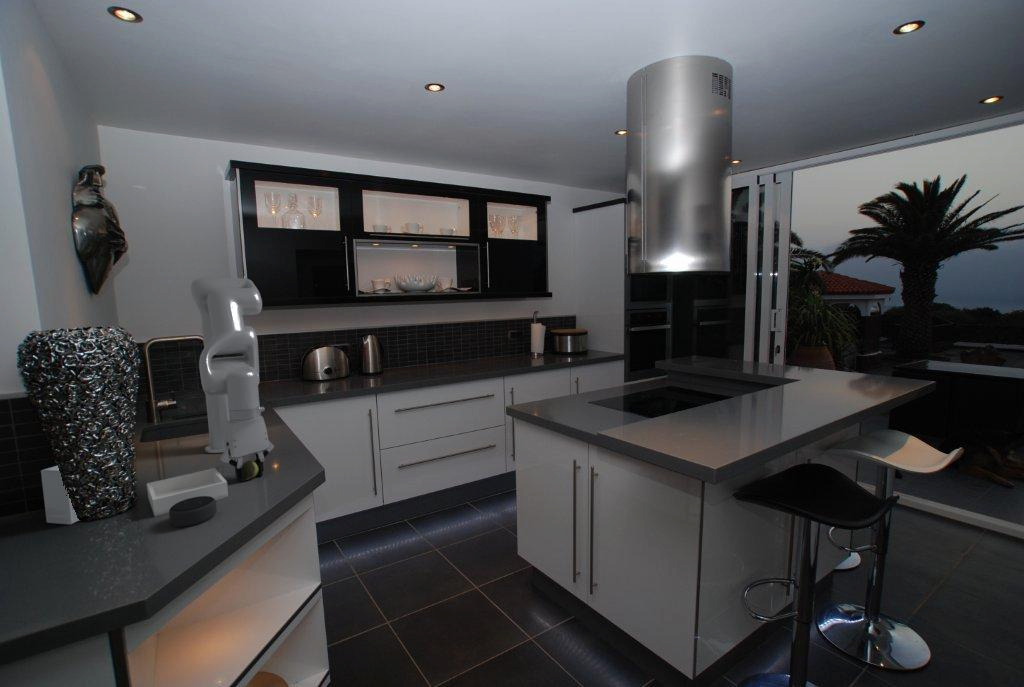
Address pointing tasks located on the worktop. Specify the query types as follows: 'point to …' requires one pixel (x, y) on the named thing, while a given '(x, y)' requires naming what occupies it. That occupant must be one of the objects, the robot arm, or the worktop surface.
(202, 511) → the smart speaker
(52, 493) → the grey tall block
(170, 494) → the bin
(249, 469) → the lime
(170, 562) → the worktop surface
